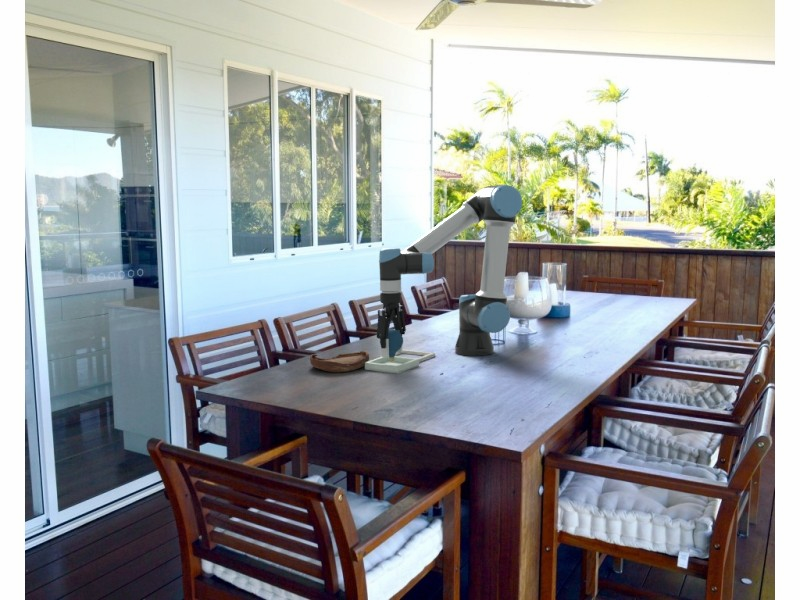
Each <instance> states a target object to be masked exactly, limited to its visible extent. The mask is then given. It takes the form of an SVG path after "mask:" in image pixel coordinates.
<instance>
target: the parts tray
mask: <svg viewBox="0 0 800 600" xmlns="http://www.w3.org/2000/svg"><path fill="white" fill-rule="evenodd" d="M379 357H380V356H379ZM379 357H378V358H377V357H376V358H375V359H371V360H369V361H368V362H365V366H364V370H366V371H367V370H368V371H374V372H383V373H390V374H396V375H397V374H398V375H399V374H402V373H404V372H407V371H409V370H412V369H414V368H417V367H419V365H420V362H419V359H417V358H414V357H405V356H398V355H396V356H394V362H390V361H389V357H388V358H387V357H380V358H379Z"/></svg>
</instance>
